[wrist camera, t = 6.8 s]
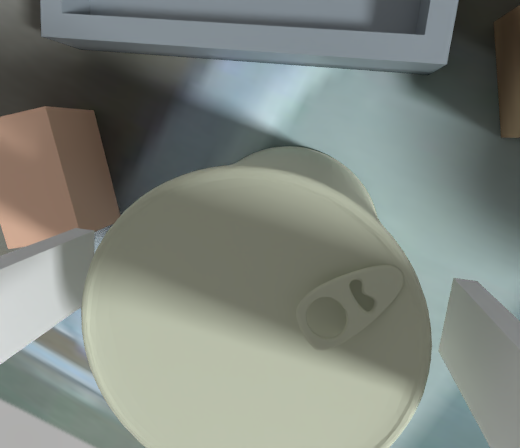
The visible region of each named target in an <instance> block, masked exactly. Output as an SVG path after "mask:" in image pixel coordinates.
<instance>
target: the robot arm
mask: <svg viewBox="0 0 520 448" xmlns="http://www.w3.org/2000/svg"><path fill="white" fill-rule="evenodd" d="M93 257H94V230H87V229H80V228H74V229H72V230H69V231H66V232H64V233H61V234H58V235H56V236H53V237H50V238H48V239H45V240H42V241H39V242H37V243H34V244H31V245H29V246H26V247H23V248H21V249H18V250H15V251H13V252H10V253H7V254H5V255H2V256H0V364H1V363H3V362H4V361H6V360H7V359H8V358H10V357H11V356H13V355H14V354H16V353H17V352H18V351H20V350H21V349H23V348H24V347H25V346H27V345H28V344H30V343H31V342H33V341H34V340H35V339H37V338H38V337H40V336H41V335H42V334H44V333H45V332H47V331H48V330H49V329H51V328H52V327H54V326H55V325H57V324H58V323H59V322H61V321H62V320H64V319H65V318H66V317H68V316H69V315H71V314H72V313H73V312H75V311H76V310H78V309H79V308H81V307H82V297H83V290H84V285H85V280H86V277H87V273H88V270H89V267H90V264H91V262H92V259H93ZM438 351H439V353H440V355H441V357H442V358H443V360H444V362H445V364H446V366H447V368H448V370H449V371H450V373H451V375H452V377H453V379H454V381H455V383H456V384H457V386H458V388H459V390H460V392H461V394H462V396H463V397H464V399H465V401H466V403H467V405H468V407H469V409H470V410H471V412H472V414H473V416H474V418H475V420H476V422H477V423H478V425H479V427H480V429H481V431H482V433H483V435H484V436H485V438H486V440H487V442H488V444H489V446H490V448H520V321H519V320H518V319H517V318H516V317H515V316H514V315H513V314H512V313H510V312H509V311H508V310H507V309H506V308H505V307H504V306H503V305H502V304H501V303H500V302H499V301H498V300H497V299H496V298H495V297H493V296H492V295H491V294H490V293H489V292H488V291H487V290H486V289H485V288H484V287H483V286H482V285H481V284H480V283H479V282H478V281H473V280H465V279H458V278H453V283H452V288H451V292H450V297H449V302H448V307H447V312H446V317H445V321H444V326H443V331H442V336H441V341H440V346H439V350H438Z"/></svg>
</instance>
